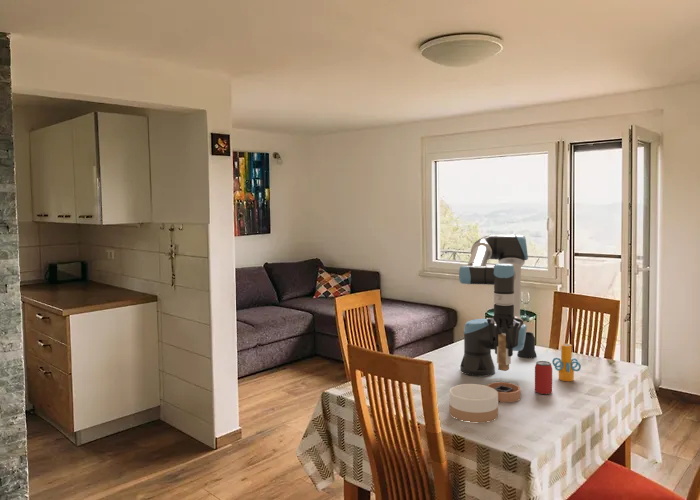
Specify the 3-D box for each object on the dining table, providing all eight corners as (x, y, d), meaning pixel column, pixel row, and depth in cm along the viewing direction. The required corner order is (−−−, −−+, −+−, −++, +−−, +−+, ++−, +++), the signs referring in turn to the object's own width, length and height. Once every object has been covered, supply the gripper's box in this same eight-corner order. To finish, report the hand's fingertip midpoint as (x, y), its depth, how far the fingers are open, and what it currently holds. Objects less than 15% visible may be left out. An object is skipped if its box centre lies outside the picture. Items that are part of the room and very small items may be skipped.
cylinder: (582, 384, 229) (582, 349, 227) (555, 383, 231) (556, 348, 230) (576, 375, 241) (576, 341, 239) (551, 374, 243) (551, 340, 242)
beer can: (543, 396, 217) (544, 366, 216) (531, 391, 222) (531, 362, 221) (555, 393, 220) (556, 363, 219) (542, 388, 226) (543, 359, 224)
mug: (536, 359, 266) (536, 336, 265) (516, 357, 270) (516, 334, 269) (537, 352, 277) (537, 330, 276) (518, 351, 281) (518, 329, 280)
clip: (494, 395, 217) (494, 388, 217) (500, 391, 221) (500, 385, 221) (506, 398, 214) (506, 391, 214) (512, 394, 218) (512, 388, 217)
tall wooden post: (498, 369, 216) (498, 334, 215) (501, 367, 218) (502, 332, 217) (505, 371, 214) (505, 335, 213) (509, 369, 216) (509, 334, 215)
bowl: (467, 426, 190) (467, 403, 189) (440, 410, 205) (440, 388, 205) (508, 418, 196) (508, 395, 196) (478, 402, 212) (478, 381, 211)
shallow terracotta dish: (481, 397, 217) (481, 388, 217) (496, 388, 226) (496, 380, 226) (511, 404, 209) (511, 395, 208) (526, 395, 218) (526, 386, 218)
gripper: (480, 303, 217) (480, 361, 219) (519, 307, 206) (518, 369, 208) (489, 300, 222) (489, 357, 224) (527, 304, 212) (527, 364, 213)
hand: (503, 363), depth 216 cm, fingers closed on tall wooden post, 3 cm apart
